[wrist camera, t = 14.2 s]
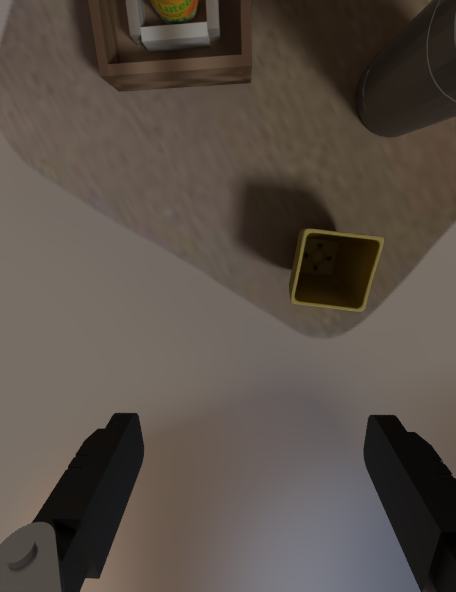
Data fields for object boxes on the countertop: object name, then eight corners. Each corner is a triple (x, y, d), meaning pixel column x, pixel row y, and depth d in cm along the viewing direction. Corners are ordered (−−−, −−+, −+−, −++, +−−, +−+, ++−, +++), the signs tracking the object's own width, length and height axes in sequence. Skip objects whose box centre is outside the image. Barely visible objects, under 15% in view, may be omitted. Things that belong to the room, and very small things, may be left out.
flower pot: (291, 219, 40) (304, 227, 31) (355, 227, 40) (386, 237, 31) (280, 281, 43) (289, 303, 34) (340, 288, 43) (363, 312, 34)
